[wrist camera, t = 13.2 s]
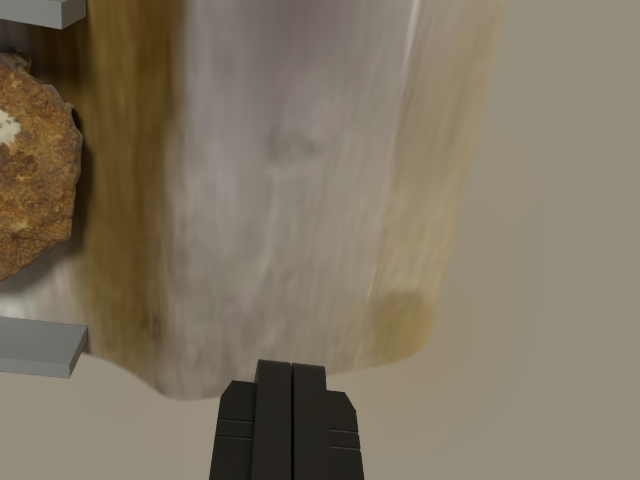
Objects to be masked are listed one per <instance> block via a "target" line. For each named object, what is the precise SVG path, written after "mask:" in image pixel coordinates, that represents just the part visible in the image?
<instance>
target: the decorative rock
mask: <svg viewBox="0 0 640 480" xmlns="http://www.w3.org/2000/svg"><path fill="white" fill-rule="evenodd" d="M31 63H32V62H31V57H30V56H29V55H27V54H26V53H25V52H24V51H22V50H20V49H18V48H15V47H13V48H12V49H11V50H10V51H8V52H0V282H3V281H5V280H6V279H7V277H8V276H9V275H13V274H15V273H16V272H18V271H19V270H21V269H23V268H25V267H27V266H28V265H29V264H30V263H31V262H32V261H33V260H34V259H36V258H37V257H38V256H39V255H40V254H42V253H44V252H48V251H49V250H50V249H52V248H53V247H54V246H56V245H57V244H60V243H62V242H65V241H67V240H69V239H70V237H71V229H72V216H73V215H74V208H75V204H74V200H75V195H76V187H75V186H76V184H77V182H78V180H79V177H80V174H81V152H82V144H83V138H84V137H83V136H82V134H81V133H80V132H79V130H78V129H77V128H76V126H75V124H74V121H73V118H72V115H71V110H72V109H74V107H73V105H72V104H70V103H68V102H64V101H63V100H62V98H61V97H60V95H59V93H58V91H57V89H56V88H55V87H54V86H53V85H46V84H45V83H44V82H42V81H40V80H38V79H36V78H34V77H33V76H31V75H30V67H31Z"/></svg>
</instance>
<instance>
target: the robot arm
mask: <svg viewBox="0 0 640 480" xmlns="http://www.w3.org/2000/svg"><path fill="white" fill-rule="evenodd" d="M359 441H360V440H359V435H358V424H357V416H356V410H355V409H354V407H353V405H352V404H351V402H350V400H349V399H348V397H347V395H346V394H345V392H338V391H329V390H327V389H326V375H325V368H324V366H316V365H307V364H298V363H292V365H291V364H290V363H288V362H279V361H270V360H261V359H259V360H258V364H257V369H256V375H255V380H254V383H253V382H243V381H234V380H232V382H231V383H230V385H229V386H228V387H227V389H226V390H225V392H224V393H223V394H222V396H221V398H220V405H219V412H218V419H217V427H216V434H215V440H214V448H213V455H212V461H211V469H210V476H209V480H364V473H363V465H362V457H361V452H360V442H359Z"/></svg>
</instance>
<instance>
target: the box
mask: <svg viewBox="0 0 640 480" xmlns="http://www.w3.org/2000/svg"><path fill="white" fill-rule="evenodd" d="M84 17H86V0H0V19H6V20H12V21H17V22H23V23H28V24H34V25H40V26H45V27H51V28H57V29H63V28H65V27H67V26H69V25H71V24H73V23H75V22H76V21H78V20H80V19H82V18H84ZM86 341H87V326H80V325H71V324H62V323H53V322H44V321H35V320H26V319H17V318H8V317H0V372H9V373H19V374H29V375H39V376H50V377H60V378H70V376H71V374H72V372H73V370H74V367H75V365H76V363H77V361H78V359H79V356H80V354H81V352H82V350H83V348H84V345H85V343H86Z"/></svg>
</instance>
